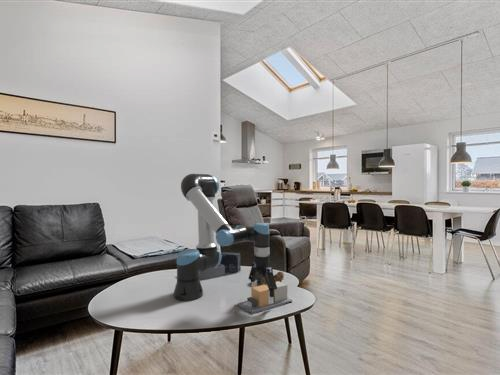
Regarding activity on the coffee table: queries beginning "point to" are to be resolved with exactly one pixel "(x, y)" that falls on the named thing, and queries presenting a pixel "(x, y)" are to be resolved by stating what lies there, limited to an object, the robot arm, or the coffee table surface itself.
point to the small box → (231, 261)
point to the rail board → (279, 299)
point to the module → (260, 294)
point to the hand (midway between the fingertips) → (262, 298)
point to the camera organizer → (212, 272)
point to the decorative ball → (260, 278)
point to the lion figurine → (278, 277)
